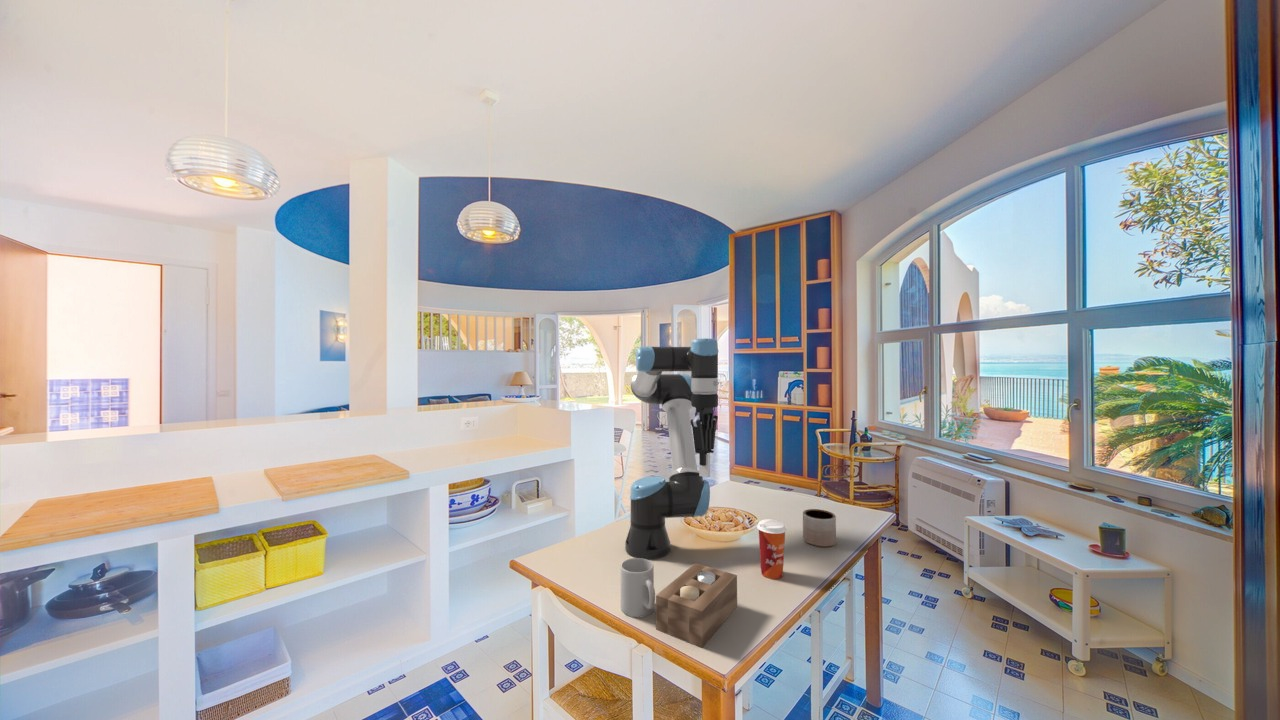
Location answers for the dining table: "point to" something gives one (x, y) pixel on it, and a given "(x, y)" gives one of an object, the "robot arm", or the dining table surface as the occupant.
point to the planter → (819, 527)
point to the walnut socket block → (696, 605)
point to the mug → (637, 587)
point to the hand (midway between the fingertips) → (704, 476)
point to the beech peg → (689, 593)
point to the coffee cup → (771, 547)
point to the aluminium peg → (706, 577)
